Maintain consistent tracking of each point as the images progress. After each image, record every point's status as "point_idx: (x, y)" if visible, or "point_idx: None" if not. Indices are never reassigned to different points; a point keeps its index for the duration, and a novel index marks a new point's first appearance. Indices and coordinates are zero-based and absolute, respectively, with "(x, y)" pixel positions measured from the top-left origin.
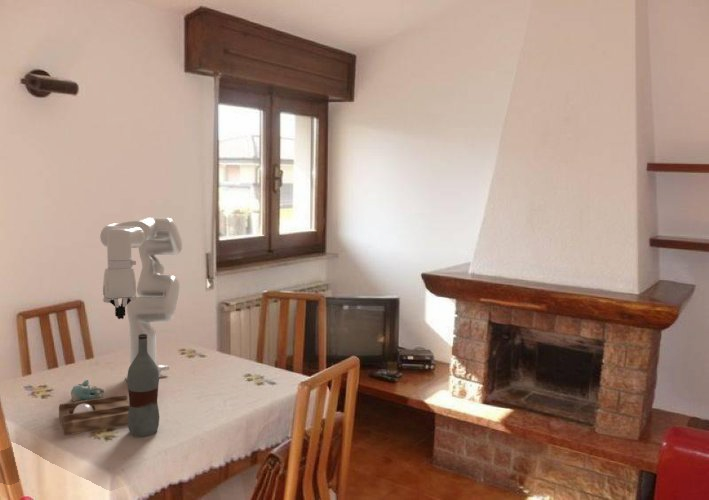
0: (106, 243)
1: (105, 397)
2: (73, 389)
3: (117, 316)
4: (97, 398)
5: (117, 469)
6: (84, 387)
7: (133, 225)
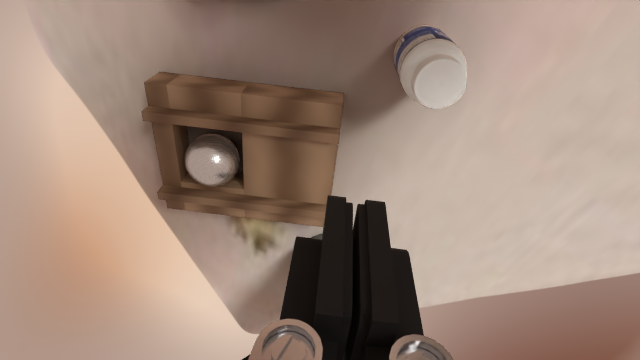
0: None
1: (275, 128)
2: None
3: (324, 221)
4: None
5: (253, 332)
6: None
7: None
